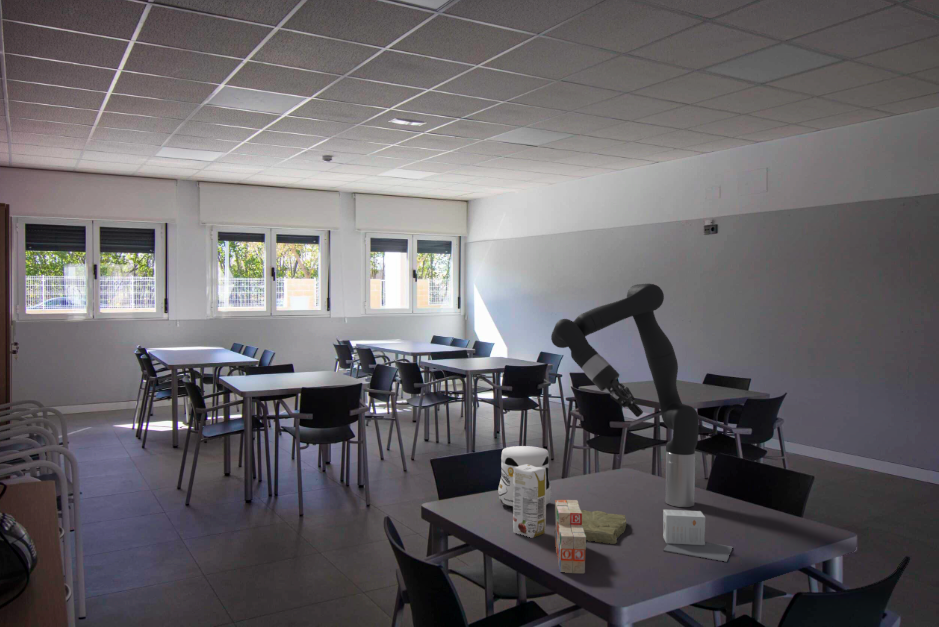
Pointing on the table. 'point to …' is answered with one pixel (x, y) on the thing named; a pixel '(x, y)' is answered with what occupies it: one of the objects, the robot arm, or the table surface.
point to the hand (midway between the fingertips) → (640, 414)
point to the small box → (684, 527)
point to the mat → (702, 550)
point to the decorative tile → (603, 526)
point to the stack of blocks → (569, 536)
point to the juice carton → (529, 500)
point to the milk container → (517, 458)
